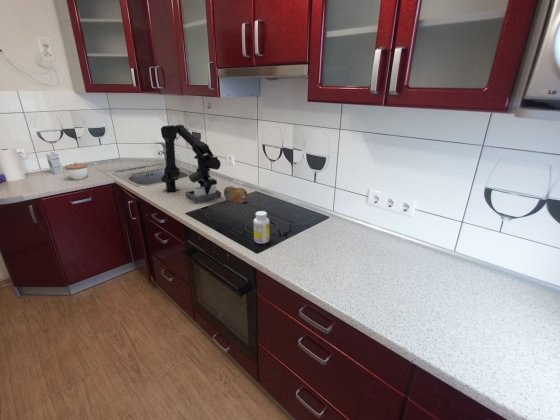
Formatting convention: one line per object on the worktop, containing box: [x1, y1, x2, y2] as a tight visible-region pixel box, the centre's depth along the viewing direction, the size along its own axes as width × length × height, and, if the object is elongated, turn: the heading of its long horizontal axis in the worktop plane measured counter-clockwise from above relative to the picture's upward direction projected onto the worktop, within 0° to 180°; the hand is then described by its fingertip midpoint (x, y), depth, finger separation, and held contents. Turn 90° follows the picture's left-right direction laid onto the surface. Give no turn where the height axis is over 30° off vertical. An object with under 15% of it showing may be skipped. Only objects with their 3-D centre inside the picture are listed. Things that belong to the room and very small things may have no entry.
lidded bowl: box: [64, 162, 89, 181], centre depth 205 cm, size 13×13×11 cm
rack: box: [185, 188, 222, 204], centre depth 175 cm, size 13×16×4 cm
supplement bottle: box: [253, 210, 270, 244], centre depth 126 cm, size 7×7×13 cm
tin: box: [223, 185, 249, 204], centre depth 170 cm, size 15×3×8 cm, turn 62°
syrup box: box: [45, 151, 64, 175], centre depth 215 cm, size 6×6×14 cm
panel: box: [193, 185, 217, 197], centre depth 172 cm, size 4×12×5 cm, turn 130°
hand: (205, 193), depth 173 cm, fingers closed on panel, 3 cm apart
